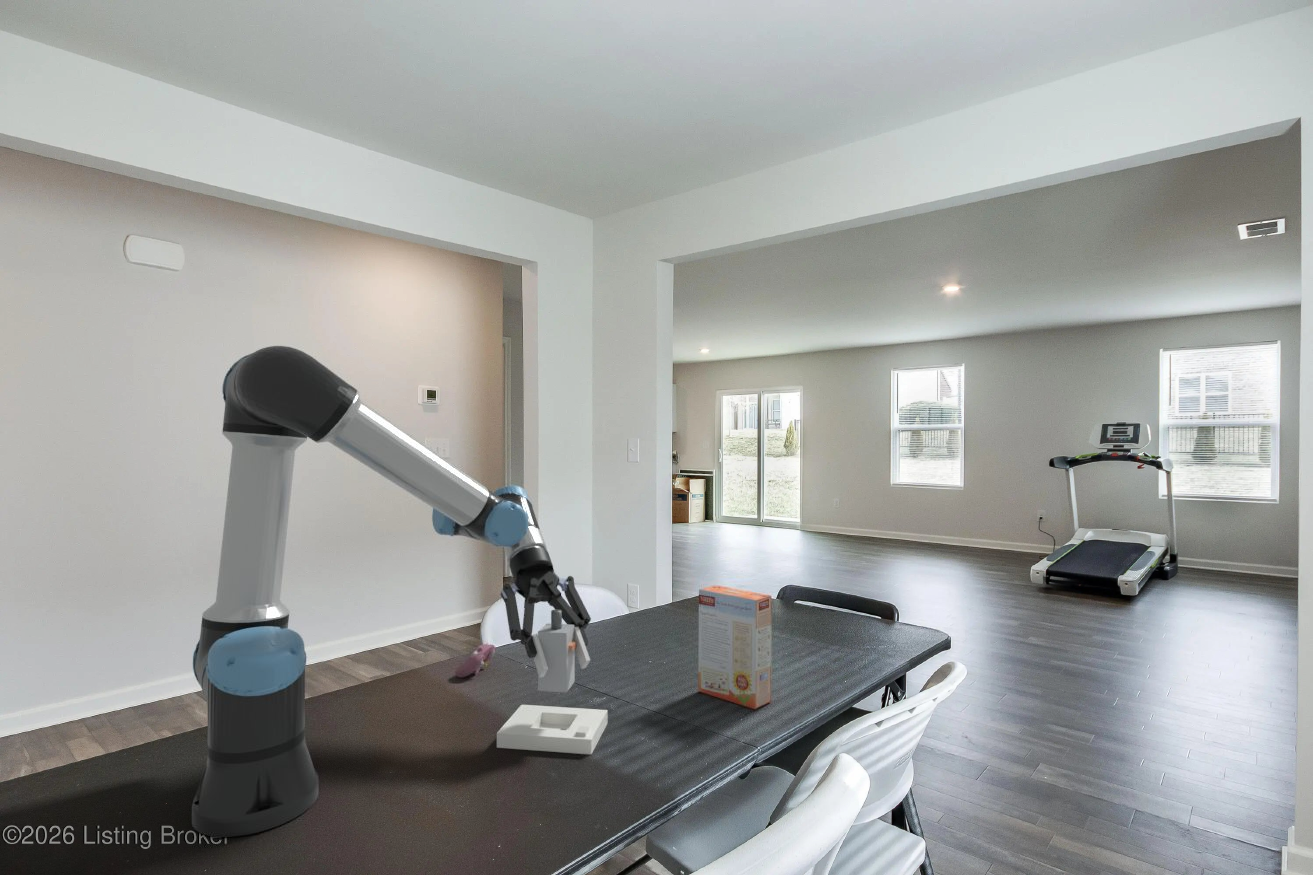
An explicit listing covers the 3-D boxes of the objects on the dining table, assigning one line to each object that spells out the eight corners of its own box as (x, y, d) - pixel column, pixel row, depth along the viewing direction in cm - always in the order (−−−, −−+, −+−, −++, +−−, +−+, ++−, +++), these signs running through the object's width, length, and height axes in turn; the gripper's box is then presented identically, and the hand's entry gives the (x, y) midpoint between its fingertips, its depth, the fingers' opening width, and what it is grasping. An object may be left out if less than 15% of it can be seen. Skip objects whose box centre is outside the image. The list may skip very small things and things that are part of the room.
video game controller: (470, 686, 144) (484, 658, 143) (452, 675, 145) (466, 647, 144) (489, 670, 154) (503, 643, 153) (473, 660, 154) (486, 633, 154)
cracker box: (772, 702, 132) (773, 594, 132) (754, 711, 128) (755, 599, 128) (715, 683, 142) (716, 583, 142) (697, 691, 137) (697, 587, 137)
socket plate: (496, 747, 113) (496, 729, 113) (521, 717, 125) (521, 701, 124) (591, 754, 110) (591, 735, 110) (607, 723, 122) (607, 706, 122)
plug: (538, 690, 116) (537, 614, 115) (547, 679, 121) (546, 606, 120) (570, 692, 115) (570, 615, 115) (578, 681, 120) (578, 607, 120)
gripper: (570, 563, 136) (610, 668, 122) (471, 574, 125) (502, 691, 112) (582, 540, 131) (624, 646, 118) (480, 550, 121) (514, 668, 107)
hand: (565, 668), depth 115 cm, fingers closed on plug, 7 cm apart
